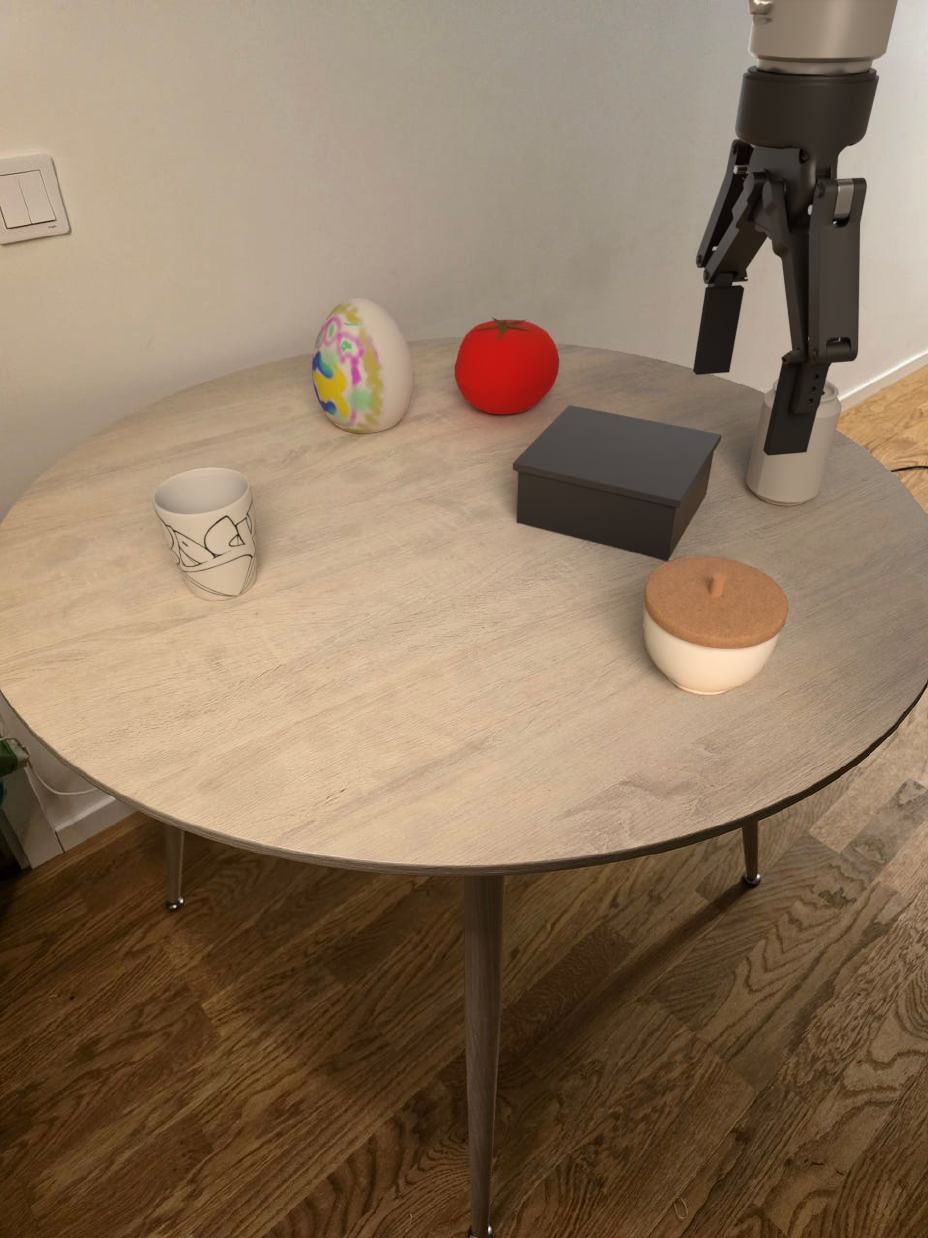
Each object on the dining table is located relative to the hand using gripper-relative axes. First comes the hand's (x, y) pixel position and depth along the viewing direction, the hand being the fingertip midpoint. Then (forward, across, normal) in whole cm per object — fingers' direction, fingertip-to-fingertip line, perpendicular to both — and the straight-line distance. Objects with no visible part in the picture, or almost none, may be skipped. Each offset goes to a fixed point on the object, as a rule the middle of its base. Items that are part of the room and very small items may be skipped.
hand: (744, 408), depth 63 cm
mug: (+20, -15, -43) cm, 50 cm away
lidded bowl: (+20, +6, -2) cm, 21 cm away
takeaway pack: (+20, -20, -2) cm, 29 cm away
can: (+20, -20, +16) cm, 33 cm away
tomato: (+20, -47, -9) cm, 52 cm away
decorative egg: (+20, -46, -27) cm, 57 cm away
